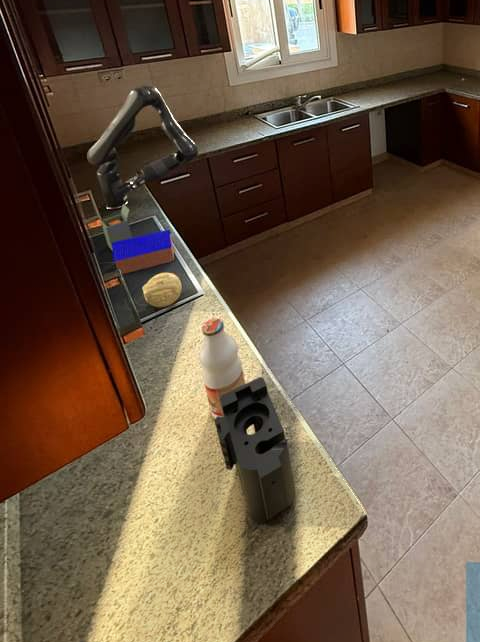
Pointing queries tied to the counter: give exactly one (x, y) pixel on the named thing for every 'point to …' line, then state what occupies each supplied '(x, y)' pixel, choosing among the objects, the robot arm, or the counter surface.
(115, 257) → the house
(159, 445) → the counter surface
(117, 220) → the packet
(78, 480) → the counter surface
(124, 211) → the flap
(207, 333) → the fruit juice
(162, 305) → the tan round lump
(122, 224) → the chute
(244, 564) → the counter surface
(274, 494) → the black machined bracket
